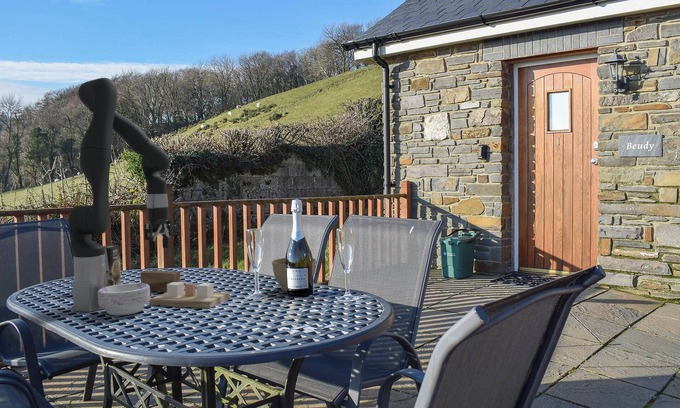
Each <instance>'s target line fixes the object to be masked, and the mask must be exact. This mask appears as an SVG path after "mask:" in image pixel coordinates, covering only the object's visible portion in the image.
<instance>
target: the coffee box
mask: <svg viewBox="0 0 680 408" xmlns="http://www.w3.org/2000/svg"><path fill="white" fill-rule="evenodd" d="M103 246H104V248H105V272H106V287H108V286H113V285H119V284H122V276H121V254H120V253H121V252H120V251H121V249H120V245H118V244H117V245H116V244H115V245H103Z"/></svg>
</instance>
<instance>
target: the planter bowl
mask: <svg viewBox="0 0 680 408" xmlns="http://www.w3.org/2000/svg"><path fill="white" fill-rule="evenodd" d="M286 258H287V257H282V258H277V259H273V260H271V265H272V272H273V275H274V278H275V280H276V283H278V284H279V286H280V288H281V290H282V291H283V292H287V279H286V264H285V259H286ZM311 258H312V260H313V262H312V276H313V277H314V275H315V272H316V263H317V259H316V258H314V257H311Z"/></svg>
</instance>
